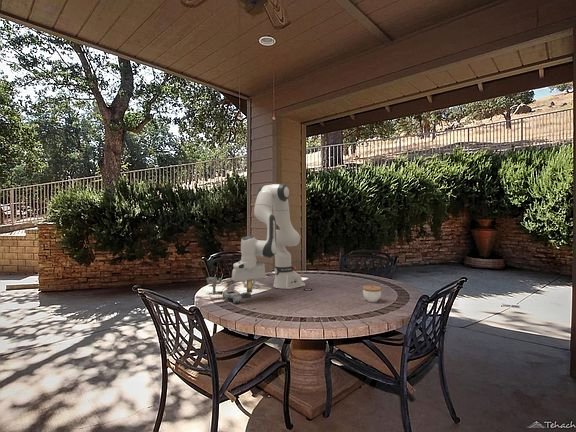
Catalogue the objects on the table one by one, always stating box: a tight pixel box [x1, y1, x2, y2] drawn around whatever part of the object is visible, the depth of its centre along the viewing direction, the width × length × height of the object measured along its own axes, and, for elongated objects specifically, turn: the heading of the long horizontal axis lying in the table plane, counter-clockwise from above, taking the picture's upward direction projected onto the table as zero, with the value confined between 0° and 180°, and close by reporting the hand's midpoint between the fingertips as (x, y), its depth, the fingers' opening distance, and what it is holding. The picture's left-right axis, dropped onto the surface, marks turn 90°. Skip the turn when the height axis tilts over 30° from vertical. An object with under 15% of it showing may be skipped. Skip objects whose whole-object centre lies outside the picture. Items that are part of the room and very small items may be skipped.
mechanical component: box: [205, 276, 223, 295], centre depth 215 cm, size 3×10×10 cm, turn 79°
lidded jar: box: [362, 284, 382, 303], centre depth 196 cm, size 11×11×9 cm
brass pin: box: [246, 279, 253, 294], centre depth 198 cm, size 3×3×8 cm
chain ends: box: [222, 289, 252, 305], centre depth 200 cm, size 16×16×4 cm
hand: (249, 286), depth 198 cm, fingers closed on brass pin, 3 cm apart
